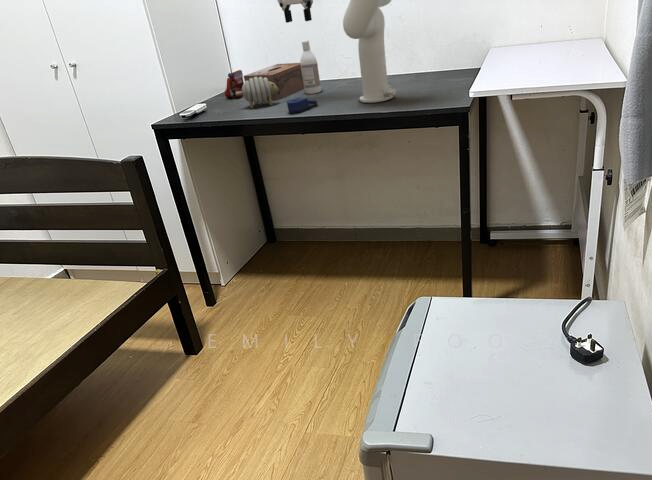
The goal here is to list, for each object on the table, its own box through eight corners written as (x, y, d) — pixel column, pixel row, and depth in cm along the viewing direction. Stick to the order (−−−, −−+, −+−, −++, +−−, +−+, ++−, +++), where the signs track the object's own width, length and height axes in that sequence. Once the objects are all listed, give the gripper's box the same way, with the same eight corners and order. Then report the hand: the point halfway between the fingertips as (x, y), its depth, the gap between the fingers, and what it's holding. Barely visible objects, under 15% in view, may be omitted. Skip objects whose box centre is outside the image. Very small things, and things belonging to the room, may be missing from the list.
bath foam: (322, 92, 233) (315, 40, 223) (306, 95, 232) (298, 43, 222) (319, 89, 239) (312, 39, 228) (304, 92, 238) (295, 41, 227)
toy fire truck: (223, 100, 243) (217, 75, 238) (239, 93, 253) (233, 69, 248) (236, 99, 241) (230, 74, 235) (251, 93, 250) (246, 68, 245)
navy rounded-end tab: (307, 105, 214) (306, 94, 212) (317, 105, 211) (316, 95, 209) (286, 113, 206) (284, 102, 203) (296, 114, 203) (294, 103, 201)
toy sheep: (282, 104, 220) (277, 75, 215) (240, 112, 217) (233, 82, 212) (278, 100, 229) (273, 71, 224) (238, 107, 226) (231, 78, 221)
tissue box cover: (281, 87, 255) (277, 63, 250) (308, 86, 249) (304, 62, 244) (248, 100, 236) (243, 75, 231) (276, 100, 230) (272, 74, 225)
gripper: (315, -35, 198) (322, 18, 207) (279, -30, 207) (288, 21, 216) (301, -33, 193) (309, 21, 202) (266, -28, 202) (275, 24, 211)
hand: (298, 21), depth 209 cm, fingers open, 9 cm apart
